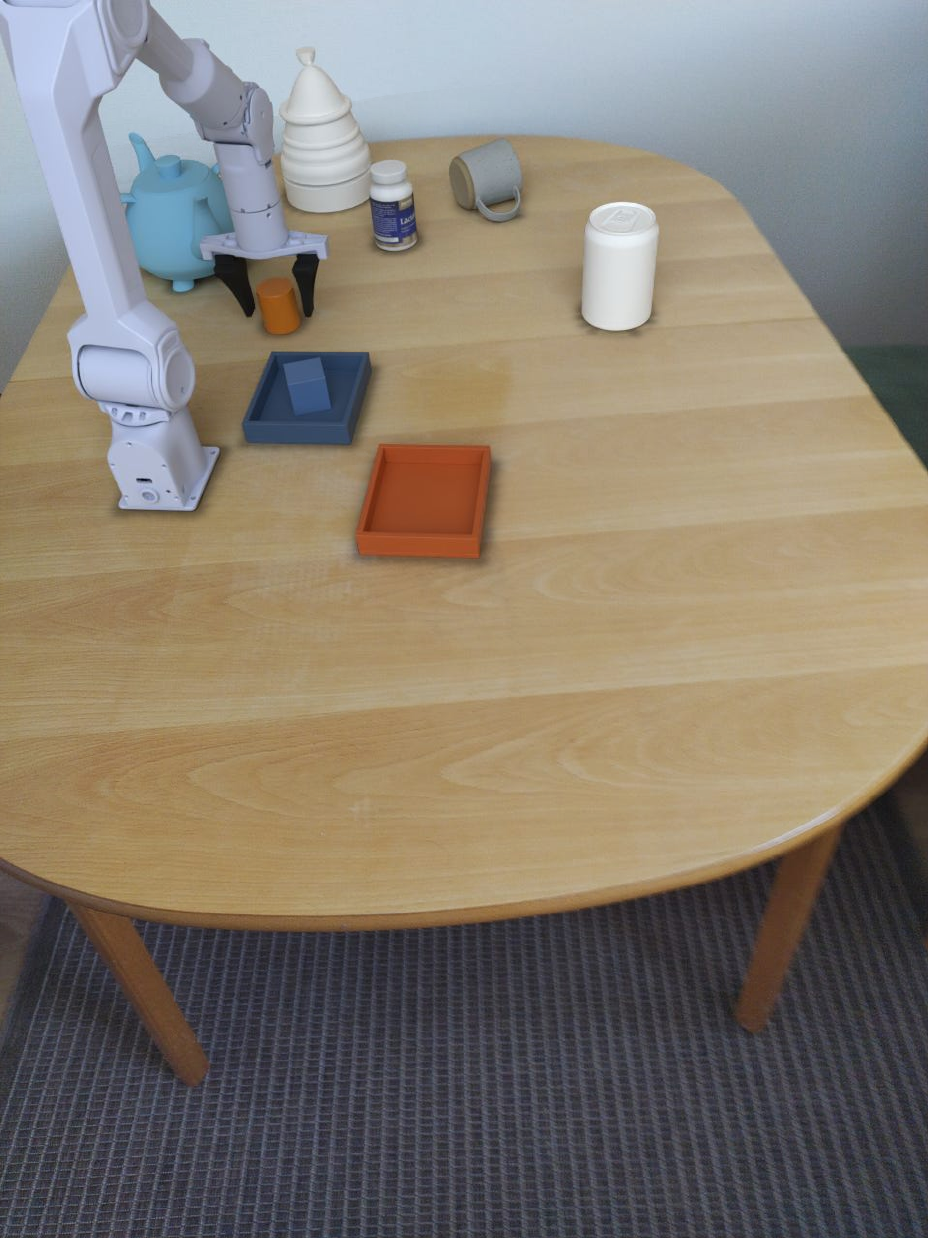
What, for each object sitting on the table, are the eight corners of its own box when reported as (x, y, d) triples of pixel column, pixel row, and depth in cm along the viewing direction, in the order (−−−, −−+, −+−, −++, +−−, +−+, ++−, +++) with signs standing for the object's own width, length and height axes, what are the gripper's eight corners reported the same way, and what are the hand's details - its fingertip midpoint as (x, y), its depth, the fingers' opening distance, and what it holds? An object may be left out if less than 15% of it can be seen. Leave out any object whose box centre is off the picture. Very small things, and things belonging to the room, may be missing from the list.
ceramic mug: (447, 199, 133) (443, 143, 127) (497, 184, 135) (496, 128, 130) (483, 231, 127) (481, 174, 121) (536, 214, 129) (536, 157, 123)
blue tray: (350, 444, 99) (347, 425, 97) (247, 442, 100) (241, 423, 98) (371, 370, 107) (368, 351, 105) (276, 369, 108) (271, 351, 107)
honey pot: (280, 181, 141) (252, 47, 127) (363, 165, 142) (344, 31, 129) (296, 219, 132) (268, 80, 119) (384, 201, 134) (366, 62, 121)
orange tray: (479, 558, 87) (477, 539, 85) (359, 554, 88) (355, 535, 86) (491, 465, 95) (490, 445, 93) (382, 462, 96) (378, 443, 94)
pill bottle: (412, 253, 124) (404, 177, 116) (370, 251, 125) (359, 176, 117) (422, 232, 128) (415, 157, 120) (381, 230, 129) (371, 155, 121)
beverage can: (570, 326, 110) (573, 227, 101) (597, 292, 115) (601, 194, 106) (635, 341, 108) (644, 240, 99) (660, 305, 112) (671, 206, 103)
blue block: (331, 408, 102) (325, 377, 99) (295, 416, 102) (287, 384, 99) (326, 387, 105) (319, 356, 102) (290, 394, 104) (283, 363, 101)
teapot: (232, 307, 118) (202, 195, 107) (99, 290, 123) (57, 182, 112) (287, 244, 128) (264, 136, 117) (162, 230, 133) (129, 125, 122)
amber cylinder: (296, 334, 113) (288, 296, 109) (261, 334, 113) (251, 296, 110) (304, 314, 116) (296, 276, 112) (269, 314, 116) (260, 277, 113)
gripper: (326, 183, 105) (345, 294, 115) (201, 184, 107) (230, 294, 117) (313, 213, 100) (334, 326, 111) (182, 214, 102) (215, 326, 112)
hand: (280, 312), depth 113 cm, fingers open, 7 cm apart
